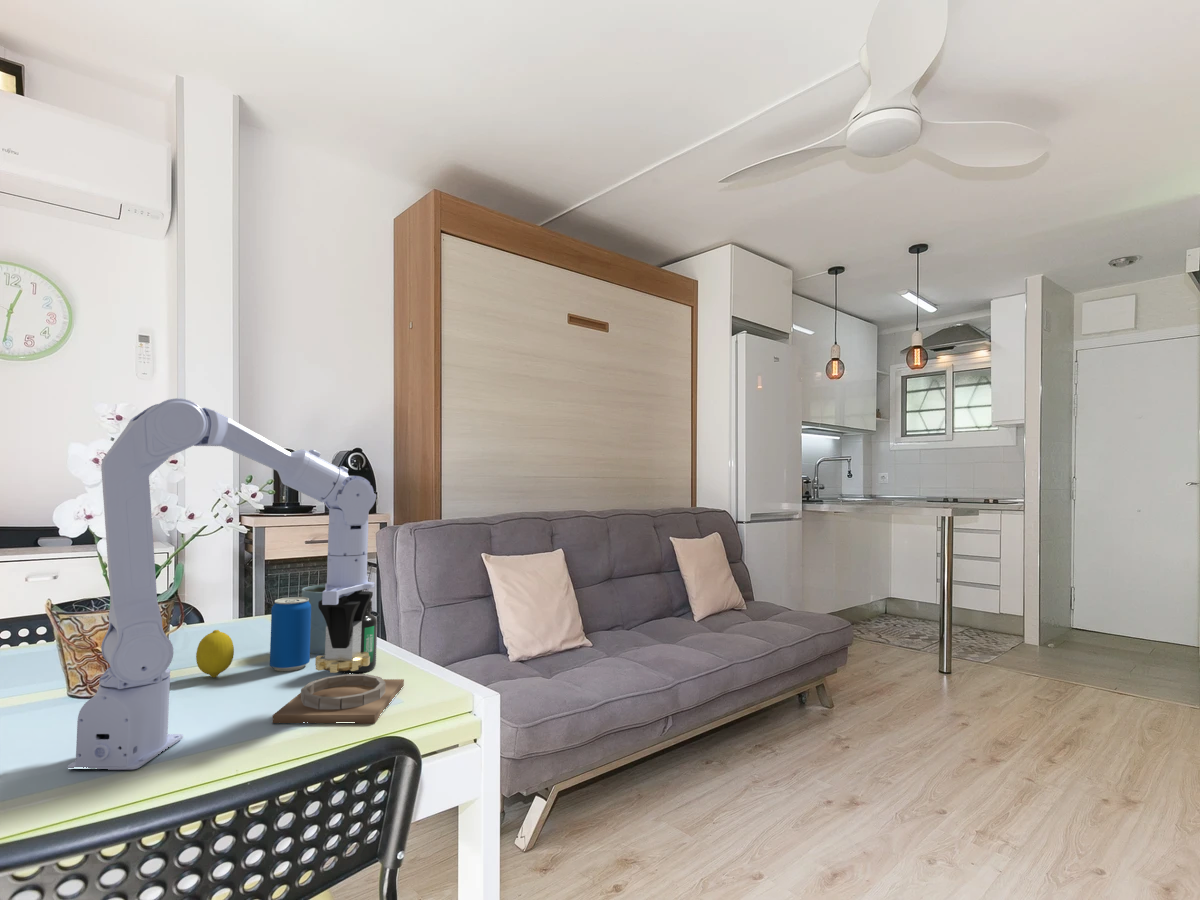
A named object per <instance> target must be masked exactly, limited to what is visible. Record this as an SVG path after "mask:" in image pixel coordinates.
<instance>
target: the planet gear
mask: <svg viewBox="0 0 1200 900" xmlns="http://www.w3.org/2000/svg"><path fill="white" fill-rule="evenodd" d="M361 629H362V621H353V623H352V629H351V636H350V641H349V645H348V647H347V648H332V645H331V640H330V636H329V631H328V627H327V626H326V640H325V654H322V655H317V656H316V657H315V665H314V666H315V670H317V671H328V672H329V673H330V674H331V673H333V674H336V673H339V672H338V671H346V670H351V671H355V670H358V668H360V667H362V666H368V665H369V664H370V656H369V653H368V652H361Z"/></svg>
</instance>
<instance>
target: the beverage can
mask: <svg viewBox="0 0 1200 900" xmlns="http://www.w3.org/2000/svg"><path fill="white" fill-rule="evenodd" d="M308 600H309V598H306V597H302V596H291V597H282V598H278V599H275V600H274V604H273V605H272V607H271V612H270V613H271V614H270V615H271V617H270V623H271V624H270V644H269V645H270V649H269V666H270V667H271V668H273V669H274V670H275V671H276V672H293V671H297V670H301V669H303V668H305V667H306V665H307V664H309V663H310V658H311V656H310V655H311V654H310V630H311V604H310V603H309V601H308Z"/></svg>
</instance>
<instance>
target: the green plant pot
mask: <svg viewBox="0 0 1200 900" xmlns="http://www.w3.org/2000/svg"><path fill="white" fill-rule="evenodd" d="M325 584H326V583H324V584H317V585H310V586H304V587H303V588H302V589H301V597H306V598H309V600H308V601H309V603H310V604H311V630H310V655H325V640H326V626H327V624H326V621H325V618H324V616H323V614H322V612H321V611H320V609H319V607H318V602H319V601H321V600H322V594H323V591H324V590H325Z"/></svg>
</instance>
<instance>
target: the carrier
mask: <svg viewBox="0 0 1200 900" xmlns="http://www.w3.org/2000/svg"><path fill="white" fill-rule="evenodd" d="M404 685H405V679H404V678H401V679H400V678H397V679H394V678H393V679H392V678H391V679H389V678H387V679H384V678H382V677H381V676H378V675H372V674H368V673H367V674H366V673H359V674H338V675H331V676H325V677H323V678H319V679H318V678H317V679H315V680H311V681H310V682H308V683H307V684H305V685H304V686H303V687H302V688H301V689H300V692H299V693H298V694H297V695H296V696H295V697H293V698H292V699H291V700H290V701H289V702H287V703H286V704H285V705H284V706H282V707H281V708H280V709H278V710H277V711H276V712H275V713H273V714H272V723H303V722H305V723H307V722H308V723H336V722H355V723H359V725H360V724H363V725H364V724H365V725H366V724H376V722H377V721H378V720H379V719H380V717H381V716H380V714H381V713H382V712H383V710H384V709H385V708H386V707H387V706H388V705H389V703H390V702H391V701H392V699H393V698H394V697H395V695H396V694H397V693H398V692H399V691H400V690H401V688H402V687H403V686H404ZM404 687H405V686H404ZM404 687H403V688H404ZM403 688H402V689H403ZM401 691H402V690H401ZM401 691H400V692H401ZM400 692H399V693H400ZM399 693H398V694H399ZM395 698H396V697H395ZM395 698H394V699H395ZM392 702H393V701H392ZM392 702H391V703H392ZM391 703H390V704H391ZM389 706H390V705H389ZM389 706H388V707H389ZM388 707H387V708H388ZM383 713H384V712H383ZM379 716H380V717H379ZM378 718H379V719H378ZM272 723H271V724H272Z"/></svg>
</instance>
